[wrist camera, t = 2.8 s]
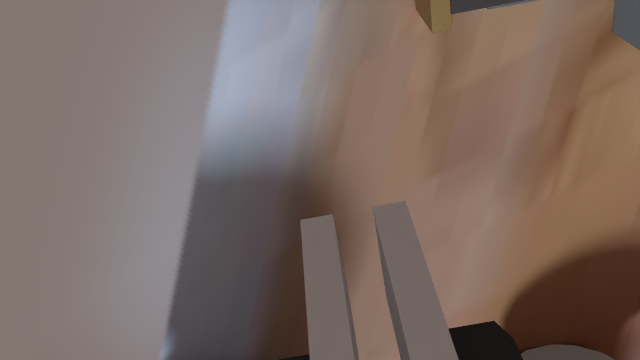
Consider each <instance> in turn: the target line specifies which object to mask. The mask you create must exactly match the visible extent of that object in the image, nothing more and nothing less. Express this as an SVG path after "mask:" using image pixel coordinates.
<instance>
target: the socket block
mask: <svg viewBox="0 0 640 360" xmlns="http://www.w3.org/2000/svg"><path fill="white" fill-rule="evenodd" d="M530 1H536V0H524V1H518V2H513V3H508V4H503V5H497V6H492V7H487V9H493V8H499V7H504V6H509V5H514V4H520V3H525V2H530ZM612 32H613V33H615V34H616V35H618V36H619V37H621V38H622V39H624V40H625V41H627V42H628V43H630V44H631V45H633V46H634V47H636V48H637V49H639V50H640V0H615V8H614V19H613V31H612Z"/></svg>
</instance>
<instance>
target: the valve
mask: <svg viewBox="0 0 640 360" xmlns="http://www.w3.org/2000/svg"><path fill="white" fill-rule="evenodd" d="M521 356H522V358H523V360H614V359H613V358H611V357H609V356H607V355H606V354H604V353H602V352H598V351H595V350H591V349H587V348H583V347H579V346H576V345H558V344H553V345H546V346H542V347H537V348H533V349H529V350H526V351H524V352H523V353H522V354H521Z"/></svg>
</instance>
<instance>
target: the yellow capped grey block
mask: <svg viewBox="0 0 640 360" xmlns="http://www.w3.org/2000/svg"><path fill="white" fill-rule="evenodd" d="M518 1H524V0H415V5H416V10H417V12H418V13H419V15H420V16H421V18H422V19H423V20H424V22H425V23H426V25H427V26H428V28H429V29H430V30H431V32H432V33H438V32H443V31H448V30H451V14H455V13H460V12H466V11H471V10H476V9H481V8H487V7H492V6H497V5H503V4H508V3H513V2H518Z"/></svg>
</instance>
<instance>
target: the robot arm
mask: <svg viewBox="0 0 640 360" xmlns="http://www.w3.org/2000/svg"><path fill="white" fill-rule="evenodd" d="M373 213H374V220H375V226H376V233H377V239H378V246H379V252H380V259H381V265H382V272H383V278H384V285H385V291H386V297H387V301H388V306H389V310H390V314H391V318H392V323H393V327H394V331H395V336H396V340H397V344H398V349H399V353H400V357H401V360H523V358H522V356H521V354H520V352H519V349H518V347H517V345H516V343H515V340H514V339H513V338H512V337H511V336H510V335H509V334H508V333H507V332H506V331H504V330H503V329H502V328H501V327H500V326H499V325H498V324H497V323H496V322H495V321H491V322H485V323H479V324H473V325H468V326H462V327H456V328H450V329H448V327H447V324H446V321H445V318H444V315H443V312H442V309H441V306H440V303H439V300H438V297H437V294H436V291H435V288H434V285H433V282H432V279H431V276H430V273H429V270H428V267H427V264H426V261H425V258H424V255H423V252H422V249H421V246H420V243H419V240H418V237H417V234H416V231H415V228H414V225H413V222H412V219H411V216H410V213H409V210H408V207H407V204H406V201H403V202H397V203H391V204H386V205H380V206H375V207H373ZM300 224H301V238H302V253H303V268H304V282H305V297H306V312H307V326H308V341H309V355H303V356H297V357H291V358H285V359H280V360H359V356H358V350H357V343H356V337H355V331H354V324H353V318H352V311H351V305H350V299H349V294H348V289H347V284H346V279H345V274H344V269H343V264H342V258H341V253H340V248H339V243H338V238H337V233H336V228H335V223H334V218H333V214H330V215H325V216H319V217H314V218H308V219H302V220H300Z"/></svg>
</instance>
